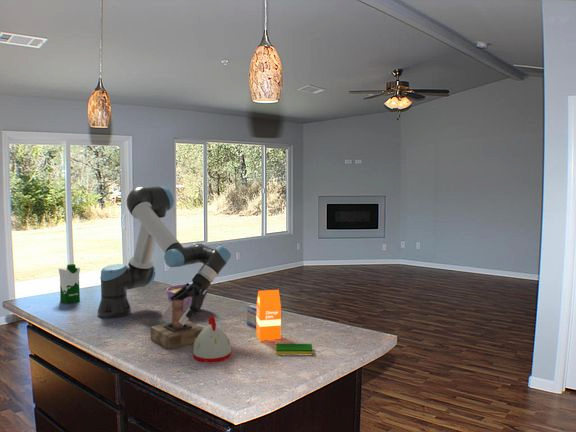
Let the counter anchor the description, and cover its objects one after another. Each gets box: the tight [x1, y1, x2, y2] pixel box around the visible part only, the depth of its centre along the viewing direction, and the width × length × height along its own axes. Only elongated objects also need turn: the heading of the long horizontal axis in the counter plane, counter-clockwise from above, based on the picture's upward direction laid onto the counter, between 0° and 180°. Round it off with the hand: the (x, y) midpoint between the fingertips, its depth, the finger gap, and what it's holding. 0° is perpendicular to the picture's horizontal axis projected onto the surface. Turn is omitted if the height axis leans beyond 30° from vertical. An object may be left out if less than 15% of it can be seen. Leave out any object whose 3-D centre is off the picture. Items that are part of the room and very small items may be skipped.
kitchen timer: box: [192, 315, 232, 364], centre depth 176 cm, size 14×14×15 cm
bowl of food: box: [166, 283, 208, 314], centre depth 235 cm, size 20×20×12 cm
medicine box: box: [246, 304, 257, 329], centre depth 213 cm, size 8×4×9 cm, turn 47°
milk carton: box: [58, 263, 81, 305], centre depth 250 cm, size 9×9×20 cm
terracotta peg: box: [171, 300, 184, 329], centre depth 193 cm, size 4×4×16 cm
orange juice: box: [256, 289, 282, 342], centre depth 197 cm, size 8×9×20 cm
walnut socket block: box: [150, 319, 205, 350], centre depth 194 cm, size 16×16×6 cm
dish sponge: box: [275, 343, 314, 355], centre depth 182 cm, size 7×14×2 cm, turn 90°
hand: (172, 319), depth 192 cm, fingers open, 13 cm apart
